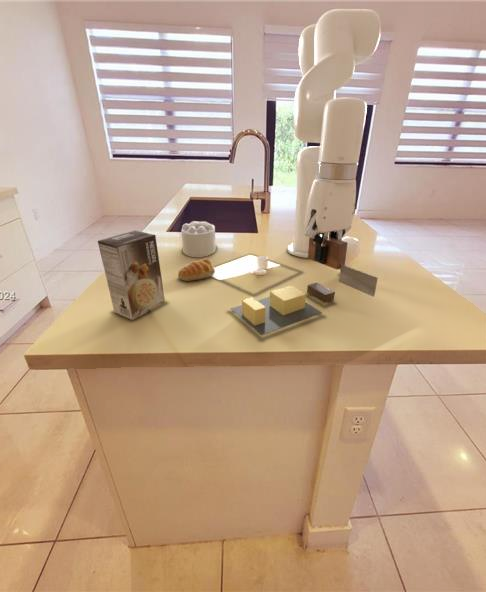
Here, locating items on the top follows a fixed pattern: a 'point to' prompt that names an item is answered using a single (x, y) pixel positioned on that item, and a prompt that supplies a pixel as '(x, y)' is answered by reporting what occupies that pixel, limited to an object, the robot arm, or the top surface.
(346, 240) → the lightbulb
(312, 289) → the knife rest
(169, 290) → the top surface
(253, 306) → the butter slice
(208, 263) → the pastry
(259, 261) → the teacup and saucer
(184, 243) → the lumpy-topped squat cylinder
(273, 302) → the butter block
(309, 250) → the knife
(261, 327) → the butter dish
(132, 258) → the coffee box
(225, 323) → the top surface
